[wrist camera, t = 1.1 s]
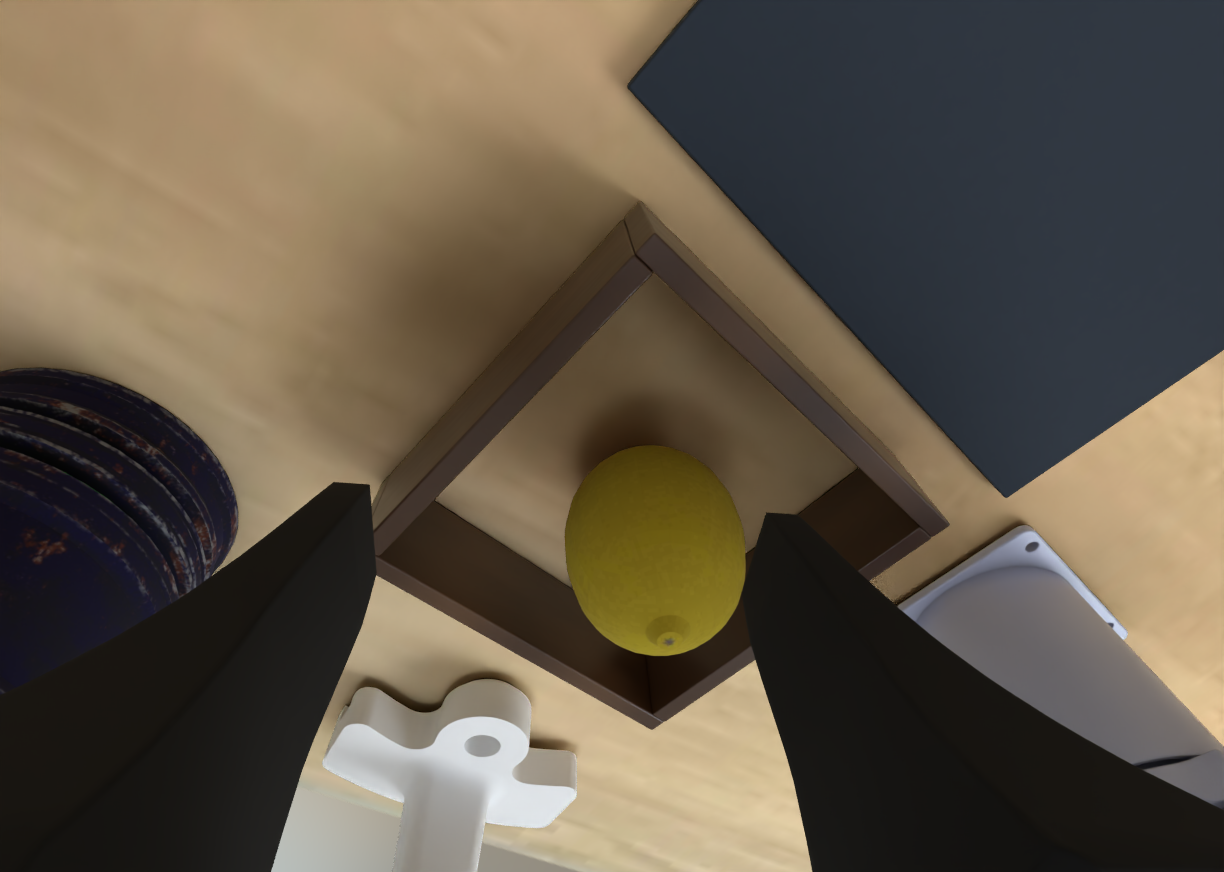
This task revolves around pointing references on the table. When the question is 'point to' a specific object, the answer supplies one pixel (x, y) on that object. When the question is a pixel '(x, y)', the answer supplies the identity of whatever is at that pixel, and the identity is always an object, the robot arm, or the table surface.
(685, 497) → the lemon
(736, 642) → the wooden frame
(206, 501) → the dark navy cylinder
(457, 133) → the table surface
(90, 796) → the robot arm
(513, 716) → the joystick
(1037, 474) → the mat
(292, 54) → the table surface
